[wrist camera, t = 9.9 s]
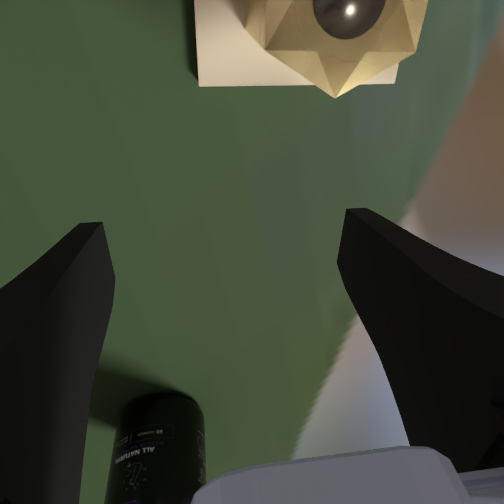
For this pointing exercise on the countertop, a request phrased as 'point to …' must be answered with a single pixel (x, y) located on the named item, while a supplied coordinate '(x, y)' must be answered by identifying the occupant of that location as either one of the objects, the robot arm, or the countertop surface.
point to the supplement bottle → (157, 452)
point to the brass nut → (336, 36)
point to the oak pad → (243, 51)
